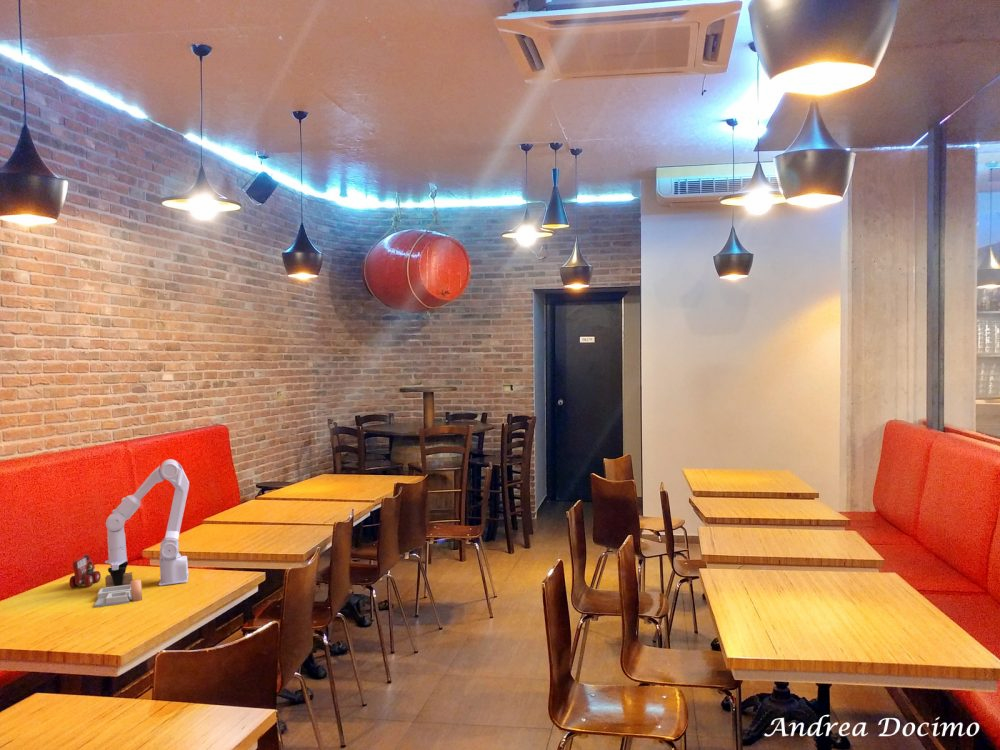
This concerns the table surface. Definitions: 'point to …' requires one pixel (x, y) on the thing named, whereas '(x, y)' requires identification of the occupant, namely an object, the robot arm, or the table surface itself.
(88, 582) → the toy fire truck
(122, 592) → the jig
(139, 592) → the tail peg
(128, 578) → the tan rectangular block
